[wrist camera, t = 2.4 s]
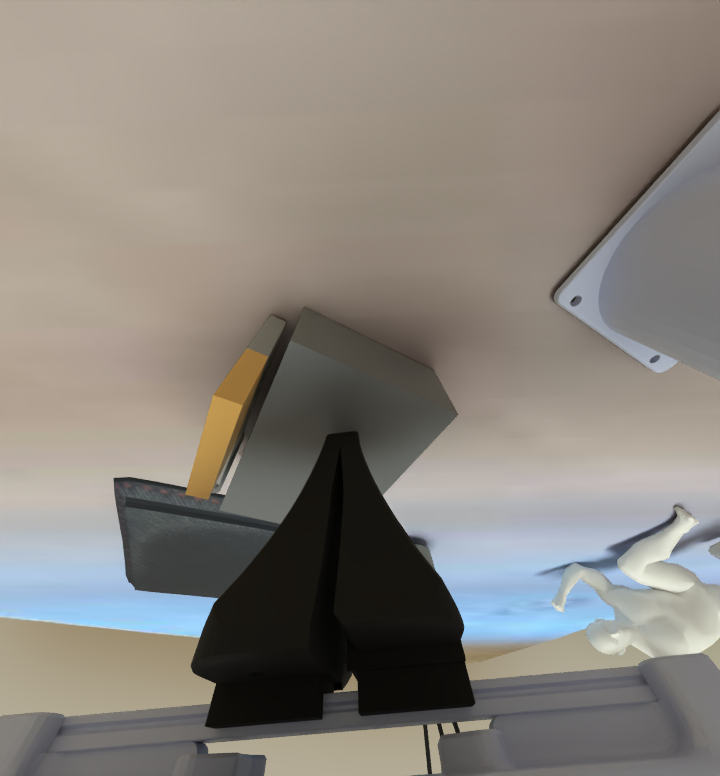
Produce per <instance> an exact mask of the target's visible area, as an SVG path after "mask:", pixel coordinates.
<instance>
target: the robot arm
mask: <svg viewBox="0 0 720 776" xmlns="http://www.w3.org/2000/svg"><path fill="white" fill-rule="evenodd" d="M575 296H576V299H575V300H574V302H572V303H571V304H570V302H571V300H572V299H573V298H574V297H575ZM554 301H555V303H556V304H558V305H559V306H560V307H562V308H563V309H565V310H566V311H567V312H569V313H570V314H572V315H573V316H575V317H576V318H577V319H579V320H580V321H582V322H583V323H584V324H586V325H587V326H589V327H590V328H592V329H593V330H594V331H596V332H597V333H599V334H600V335H601V336H603V337H604V338H606V339H607V340H609V341H610V342H611V343H613V344H614V345H616V346H617V347H618V348H620V349H621V350H623V351H624V352H626V353H627V354H628V355H630V356H631V357H633V358H634V359H635V360H637V361H638V362H640V363H641V364H642V365H644V366H645V367H647V368H648V369H650V370H651V371H653V372H655V373H662V372H665V371H666V370H668V369H670V368H671V367H672V366H674V365H675V364H676V363H678V362H681V363H683V364H685V365H688V366H690V367H692V368H694V369H696V370H698V371H701V372H703V373H705V374H707V375H709V376H712V377H714V378H716V379H718V380H720V110H719V112H718V113H717V114H716V115H715V116H714V117H713V118H712V119H711V120H710V122H709V123H708V124H707V125H706V126H705V127H704V128H703V129H702V130H701V131H700V133H699V134H698V135H697V136H696V137H695V138H694V139H693V140H692V141H691V143H690V144H689V145H688V146H687V147H686V148H685V149H684V150H683V151H682V153H681V154H680V155H679V156H678V157H677V158H676V159H675V160H674V161H673V162H672V164H671V165H670V166H669V167H668V168H667V169H666V170H665V171H664V172H663V174H662V175H661V176H660V177H659V178H658V179H657V180H656V181H655V182H654V183H653V185H652V186H651V187H650V188H649V189H648V190H647V191H646V192H645V193H644V195H643V196H642V197H641V198H640V199H639V200H638V201H637V202H636V203H635V205H634V206H633V207H632V208H631V209H630V210H629V211H628V212H627V213H626V214H625V216H624V217H623V218H622V219H621V220H620V221H619V222H618V223H617V224H616V226H615V227H614V228H613V229H612V230H611V231H610V232H609V233H608V234H607V235H606V237H605V238H604V239H603V240H602V241H601V242H600V243H599V244H598V245H597V247H596V248H595V249H594V250H593V251H592V252H591V253H590V254H589V255H588V257H587V258H586V259H585V260H584V261H583V262H582V263H581V264H580V265H579V266H578V268H577V269H576V270H575V271H574V272H573V273H572V274H571V275H570V276H569V278H568V279H567V280H566V281H565V282H564V283H563V284H562V285H561V286H560V287H559V289H558V290H557V291H556V293H555V295H554ZM463 631H464V623H463V620H462V618H461V615H460V613H459V610H458V608H457V606H456V604H455V602H454V600H453V598H452V596H451V594H450V593H449V591H448V589H447V587H446V586H445V584H444V582H443V580H442V578H441V577H440V576H439V574H438V573H437V572H436V571H435V570H434V568H433V567H432V566H431V565H430V563H429V562H428V561H427V560H426V558H425V557H424V556H423V555H422V553H421V552H420V551H419V549H418V548H417V547H416V545H415V544H414V543H413V541H412V540H411V539H410V537H409V536H408V534H407V533H406V532H405V530H404V529H403V527H402V526H401V524H400V523H399V521H398V520H397V519H396V517H395V515H394V514H393V512H392V511H391V509H390V507H389V506H388V504H387V502H386V501H385V499H384V497H383V496H382V494H381V492H380V490H379V488H378V486H377V484H376V482H375V480H374V478H373V476H372V474H371V472H370V470H369V468H368V465H367V463H366V460H365V458H364V455H363V452H362V449H361V446H360V440H359V434H358V432H356V431H350V432H342V433H333V434H328V435H327V436H326V439H325V442H324V444H323V447H322V450H321V452H320V454H319V457H318V459H317V461H316V463H315V465H314V468H313V470H312V472H311V474H310V476H309V478H308V480H307V481H306V483H305V485H304V487H303V489H302V491H301V492H300V494H299V496H298V498H297V499H296V501H295V503H294V504H293V506H292V507H291V509H290V511H289V512H288V514H287V515H286V517H285V518H284V520H283V521H282V522H281V524H280V525H279V527H278V528H277V530H276V531H275V532H274V534H273V535H272V536H271V538H270V539H269V540H268V542H267V543H266V544H265V545H264V547H263V548H262V549H261V550H260V552H259V553H258V554H257V555H256V557H255V558H254V559H253V560H252V561H251V563H250V564H249V565H248V566H247V568H246V569H245V570H244V571H243V572H242V573H241V574H240V575H239V577H238V578H237V579H236V580H235V581H234V582H233V583H232V584H231V585H230V586H229V588H228V589H227V590H226V591H225V592H224V593H223V594H222V595H221V596H220V597H219V598H218V599H217V601H216V602H215V603H214V605H213V607H212V609H211V612H210V614H209V616H208V618H207V621H206V623H205V626H204V628H203V631H202V634H201V637H200V640H199V643H198V646H197V648H196V651H195V654H194V657H193V660H192V663H191V668H192V671H193V673H195V674H196V675H198V676H200V677H202V678H205V679H207V680H209V681H211V682H214V683H216V687H215V690H214V694H213V698H212V701H211V704H204V705H192V706H183V707H182V706H181V707H170V708H160V709H148V710H136V711H125V712H114V713H103V714H91V715H80V716H70V717H64V715H62V714H57V713H44V712H41V713H25V714H14V715H3V716H0V776H264V772H265V765H266V758H265V756H264V755H247V754H240V753H217V754H208V748H207V746H206V744H203V743H214V742H226V741H238V740H250V739H262V738H273V737H285V736H297V735H309V734H321V733H333V732H345V731H356V730H368V729H380V728H392V727H404V726H415V725H428V724H440V723H450V722H451V723H452V722H463V721H475V720H487V719H493V720H492V721H491V723H490V725H489V729H487V730H476V731H468V732H461V733H454V734H447V735H441V737H440V739H439V742H438V750H439V755H440V761H441V771H442V773H440V774H426V775H413V776H720V670H719V669H718V668H717V667H716V665H715V664H714V663H713V662H712V660H711V659H710V658H709V657H708V656H707V655H705V654H703V653H695V654H683V655H672V656H662V657H655V658H651V659H647V660H644V661H642V662H641V663H639V665H638V666H633V667H632V666H631V667H620V668H609V669H598V670H587V671H575V672H564V673H553V674H542V675H530V676H520V677H508V678H497V679H486V680H475V681H470V680H469V676H468V673H467V669H466V665H465V661H466V659H465V654H464V650H463V647H462V643H461V637H462V634H463ZM352 673H353V675H354V676H355V678H356V679H357V681H358V691H350V692H340V693H334V691H336V690H343V688H344V687H345V686H346V684H347V683H348V681H349V679H350V677H351V676H352Z"/></svg>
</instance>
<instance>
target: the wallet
mask: <svg viewBox="0 0 720 776" xmlns="http://www.w3.org/2000/svg"><path fill="white" fill-rule="evenodd" d="M186 490H187V488H186V487H181V486H175V485H170V484H165V483H160V482H155V481H149V480H143V479H137V478H132V477H125V478H114V491H115V499H116V506H117V512H118V518H119V523H120V529H121V534H122V540H123V548H124V558H125V568H126V577H127V579H128V581H129V583H131V584H132V585H133V586H134V587H135V590H140V591H149V592H159V593H170V594H181V595H192V596H202V597H213V598H219V597H220V596H221V595H222V594H223V593H224V592H225V591H226V590H227V589H228V588H229V586H230V585H231V584H232V583H233V582H234V581H235V580H236V579H237V578H238V577H239V575H240V574H241V573H242V572H243V571H244V570H245V569H246V568H247V566H248V565H249V564H250V563H251V561H252V560H253V559H254V558H255V557H256V555H257V554H258V553H259V552H260V550H261V549H262V548H263V547H264V545H265V544H266V543H267V542H268V540H269V539H270V538H271V536H272V535H273V534H274V532H275V531H276V530H277V528H278V527H279V525H280V524H278V523H274V522H269V521H265V520H260V519H256V518H251V517H247V516H242V515H238V514H233V513H229V512H224V511H220V507H221V505H222V502H223V500H224V498H225V495H221V494H216V493H211V495H210V497H209V499H208V500H207V499H202V498H198V497H194V496H189V495H185V493H186Z"/></svg>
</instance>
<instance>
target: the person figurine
mask: <svg viewBox="0 0 720 776" xmlns="http://www.w3.org/2000/svg"><path fill="white" fill-rule="evenodd" d="M674 509H675V510H676V513H677V517H676V519H674V520H673V522H672V524H671V525H670V526H668V527H667V528H666V529H664V530H663V531H661V532H660V533H657V534H654V535H651V536H649V537H646V538H643V539H641V540H640V541H638V542H636V543H634V544H633V545H632V546H631V547H630V548H629V549H628V550H627V551H626V552H625V553H624V554H623V555H622V556H621V557H620V558H619V559H618V560H617V565H618V568H619V569H620V570H621V571H622V572H623V573H625V574H626V575H627V576H629V577H630V578H632V579H634V580H635V581H637V582H638V583H641V584H644V585H646V586H648V587H650V588H653V589H632V588H629V587H626V586H623V585H613V584H612V583H611V582H610V581H609V579H608V578H607V577H606V576H605V575H604V574H603V573H601V572H600V571H598V570H596V569H592V568H587V567H583V566H581V565H579V564H577V563H572V564H570V565H568V566H567V567H566V568H565V570H564V572H563V575H562V579H561V585H560V587H559V589H558V593H557V594H556V596H555V597H554V598H553V600H552V601H551V604H552V605H553V606H554V607H555V609H556V610H558V611H560V612H561V611H562V612H563V613H564V604H565V602H566V596H567V595H568V593H569V592H570V590H571V589H572V588H573V586H574V585H575V584H576V583H577V581H578V580H579V579H580V578H581V579H582V580H583V581H584V582H585V583H587V584H588V585H589V586H591V587H592V588H594V589H595V591H596V593H597V594H598V596H599V597H600V598H601V599H602V600H603V601H604V602H605V603H607V604H608V605H610V606H612V607H613V609H614V614H615V620H604V619H595V620H594V621H596V622H593V623H590V624H589V625H588V626H587V629H586V635H587V637H588V639H589V641H590V643H591V644H592V645H593V646H594V647H595V648H596V649H597V650H598V651H600V652H601V653H604V654H609V655H611V654H615V653H617V655H619V656H620V655H623V653H624V652H625V651H626V649H625V648H626V647H627V646H628V645H630V644H631V645H633V646H634V647H636V648H637V649H639V650H641V651H642V652H644V653H645V654H647V655H649V656H650V657H652V658H655V657H662V656H672V655H683V654H695V653H700V652H701V651H703V650H705V649H706V648H708V647H709V646H711V645H712V644H713V643H714V642H715V641H716V640H717V639H718V638H719V637H720V585H717V584H705V583H703V582H701V581H700V580H699V578H698V577H697V576H696V574H695V573H693V572H692V571H690V570H688V569H686V568H684V567H683V566H681V565H679V564H674V563H667V562H664V561H661V560H665V559H669V556H670V554H671V552H672V550H673V548H674V547H675V545H676V544H677V542H678V541H679V539H680V538H681V537H682V535H683V534H684V533H688V531H689V530H690V528H691V527H693V526H695V525H696V524H698V523H699V522H698V521H697V520H696V518H695V517H693V516H691V515H690V514H688V513H687V512H686V511H684V510H683V509H681V508H679V507H678V506H676V507H675V508H674ZM708 551H709V552H710V554H711V555H713V556H715V557H716V558H718V559H720V542H718V543H716V544H714V545H712V546H710V548H709V550H708Z"/></svg>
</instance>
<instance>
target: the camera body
mask: <svg viewBox="0 0 720 776" xmlns="http://www.w3.org/2000/svg"><path fill="white" fill-rule="evenodd" d="M457 415H458V413H457V411H456V410H455V408H454V406H453V404H452V402H451V400H450V399H449V397H448V395H447V393H446V391H445V390H444V388H443V386H442V384H441V382H440V380H439V379H438V377H437V375H436V373H435V371H434V370H432V369H430V368H428V367H426V366H424V365H422V364H420V363H418V362H416V361H414V360H412V359H410V358H408V357H406V356H404V355H402V354H400V353H398V352H396V351H393V350H391V349H389V348H387V347H385V346H383V345H381V344H379V343H377V342H375V341H373V340H371V339H369V338H367V337H365V336H363V335H361V334H359V333H357V332H355V331H353V330H351V329H349V328H346V327H344V326H342V325H340V324H338V323H336V322H334V321H332V320H330V319H328V318H326V317H324V316H322V315H320V314H318V313H316V312H314V311H312V310H310V309H308V308H306V307H304V309H303V312H302V314H301V316H300V319H299V321H298V323H297V326H296V328H295V330H294V333H293V335H292V337H291V340H290V342H289V345H288V347H287V349H286V352H285V354H284V356H283V359H282V361H281V364H280V366H279V368H278V371H277V373H276V376H275V378H274V380H273V383H272V385H271V388H270V390H269V392H268V395H267V397H266V400H265V402H264V404H263V407H262V409H261V412H260V414H259V416H258V419H257V421H256V423H255V426H254V428H253V431H252V433H251V435H250V438H249V440H248V443H247V445H246V447H245V450H244V452H243V455H242V457H241V459H240V462H239V464H238V467H237V469H236V471H235V474H234V476H233V479H232V481H231V483H230V486H229V488H228V490H227V493H226V495H225V498H224V500H223V502H222V505H221V507H220V511H224V512H229V513H233V514H238V515H242V516H247V517H251V518H256V519H260V520H265V521H269V522H274V523H278V524H281V522H282V521H283V520H284V518H285V517H286V515H287V514H288V512H289V511H290V509H291V507H292V506H293V504H294V503H295V501H296V499H297V498H298V496H299V494H300V492H301V491H302V489H303V487H304V485H305V483H306V481H307V480H308V478H309V476H310V474H311V472H312V470H313V468H314V465H315V463H316V461H317V459H318V457H319V454H320V452H321V450H322V447H323V444H324V442H325V439H326V436H327V435H328V434H333V433H342V432H350V431H356V432H358V434H359V440H360V446H361V449H362V452H363V455H364V458H365V460H366V463H367V465H368V468H369V470H370V472H371V474H372V476H373V478H374V480H375V482H376V484H377V486H378V488H379V490H380V492H381V494H382V495H383V494H384V493H385V492H386V491H387V490H388V489H389V488H390V487H391V486H392V484H393V483H394V482H395V481H396V480H397V479H398V478H399V477H400V476H401V475H402V474H403V473H404V472H405V471H406V470H407V469H408V467H409V466H410V465H411V464H412V463H413V462H414V461H415V460H416V459H417V458H418V457H419V456H420V455H421V454H422V453H423V451H424V450H425V449H426V448H427V447H428V446H429V445H430V444H431V443H432V442H433V441H434V440H435V439H436V438H437V437H438V436H439V434H440V433H441V432H442V431H443V430H444V429H445V428H446V427H447V426H448V425H449V424H450V423H451V422H452V421H453V420H454V418H455V417H456V416H457Z"/></svg>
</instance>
